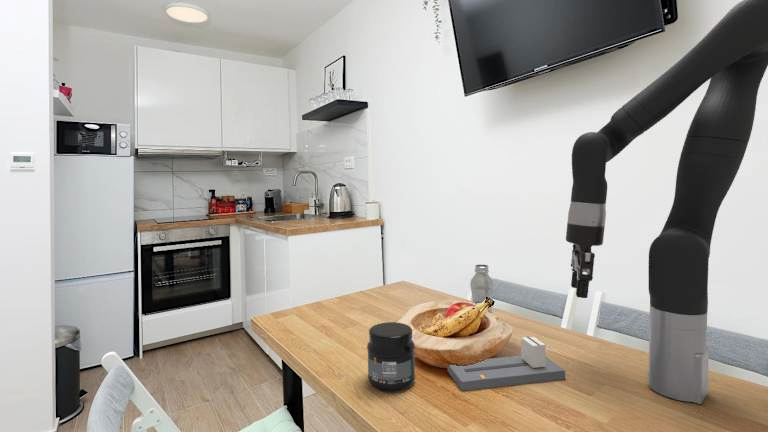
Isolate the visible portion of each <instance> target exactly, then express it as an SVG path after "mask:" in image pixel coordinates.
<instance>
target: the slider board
mask: <svg viewBox="0 0 768 432" xmlns="http://www.w3.org/2000/svg"><path fill="white" fill-rule="evenodd" d="M485 359H486V360H484V361H481V362H478V363H476V364H473V365H468V366H456V365H449V366H448V365H447V373H448V374H449V375H450V377H451V378H452V379H453V381H454V382H455V384H456V385H457V386H458V388H459V389H460V391H461V392H467V391H475V390H483V389H493V388H499V387H500V388H501V387H509V386H519V385H526V384H535V383H544V382H551V381H552V382H555V381H560V380H561V381H562V380H566V370H565V369H564V368H563V367H561V365H559V364H557V363H556V362H554V361H553V360H551V359H550V358H549V357H548V356H546V355H545V367H537V368H533V367H531V366H530V365H529V364H528V363H527V362H525V361H524V360H523V359H522V358H521V355H514V356H502V357H494V358H492V357H491V358H485Z"/></svg>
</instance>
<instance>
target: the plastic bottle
mask: <svg viewBox="0 0 768 432" xmlns="http://www.w3.org/2000/svg"><path fill="white" fill-rule="evenodd" d="M474 272H475V274H474V275H473V276H472V277H471V279H470V283H469V286H470V291H471V299H472V304H473V303H475V304H477V303H482V302H483V301H484V300H485V298H486V297H488V298H490V299H492V298H493V289H494V282H493V281H494V280H493V279H492V278H491V277H490V275H489V265H487V264H475V267H474ZM492 300H493V299H492ZM492 308H493V307H490V309H489V310H488V312H489V313H491V314H492V315H493V309H492Z"/></svg>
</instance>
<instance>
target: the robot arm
mask: <svg viewBox="0 0 768 432" xmlns="http://www.w3.org/2000/svg"><path fill="white" fill-rule="evenodd" d="M767 68H768V0H741V1H740V2H738V3H737V4H735V5H734V6H733V7H731V9H730V10H729V11H728V12H727V13H726V14H725V15H724V16H723V17H722V18H721V19H720V20H719V21H718V22H717V23H716V24H715V26H713V27H712V29H711V30H710V31H709V32H708V33H707V34H706V35H704V37H702V39H701V40H699V42H697V44H696V45H695V46H694V47H692V48H691V49H690V50H689V51H688V52H687V53H685V55H684V56H683V57H682V58H681V59H679V60H678V61H677V62H675V63H674V65H672V66H671V67H670V68H669V69H668V70H666V71H664V72H663V74H661V75H660V76H659V77H658V78H656V79H655V80H653V82H651V83H650V84H649V85H647V86H646V87H645V88H643V89H642V90H641V91H640V92H638V93H637V94H635V96H633V97H631V99H630V100H628V101H627V102H626V103H625V104H623V105H622V106H621V107H619V108H618V110H616V111H614V113H613V114H612V115H611V116H610V120H609V121H608V122H607V123H606V124H605V125H603V127H602V128H600V129H599V130H598V131H597V132H596V131H590V132H585V133H583V134H581V135H580V136H579V137H577V139H576V140H575V142H574V143H573V146H572V149H571V150H572V151H571V171H572V172H571V173H572V187H571V193H570V194H571V195H570V204H569V209H568V215H567V224H566V233H565V240H566V242H568V243H569V244H572V250H571V259H570V262H571V263H570V268H571V269H570V270H571V273H572V274H571V284H570V286H571V288H572V289H576V291H575V296H576V297H577V298H581V299H587V298H588V295H589V286H590V282H591V281H593V280H594V277H593V275H594V265H595V263H594V262H595V256H596V254H595V252H592V247H601V246H602V245H603V244H604V235H605V234H604V233H605V227H606V219H607V218H606V216H607V211H606V206H607V205H606V204H607V197H608V181H607V179H606V171H607V170H606V168H607V163H609V161H611V160H612V159H614V158H615V157H617V156H618V155H619V154H620V153H621V152H623V150H624V149H625V148H627V147H628V146H629V145H630V144H631V143H632V142H633V141H634V140H635V139H636V138H638V137H639V136H642V134H644V133H645V132H647V131H648V130H649V129H651V128H652V127H654V126H655V125H657V124H658V123H659V122H661V121H662V120H663V119H665V118H666V117H667V116H668V115H669V114H670V113H672V112H673V111H674V110H676V109H677V108H678V107H679V106H680V105H681V104H682V103H683V102H685V101H686V100H687V99H688V98H689V97H690V96H691V95H692V94H693V93H694V92H696V91H697V90H698V89H699V88H700V87H701V86H703V85H704V84H705V83H706V82H707V81H709V84H708V87H707V89H706V91H705V94H704V96H703V98H702V99H701V102H700V104H699V106H698V108H697V110H696V112H695V114H694V116H693V118H692V120H691V123H690V124H689V128H688V131H687V132H686V135H685V138H684V142H683V145H682V149H681V153H680V157H679V160H678V163H677V164H678V166H677V170H676V171H677V172H676V177H675V178H676V179H675V190H674V197H673V203H672V205H671V207H670V211H669V213H668V216H667V218H666V221H665V223H664V226H663V228H662V230H661V232H660V234H659V235H658V236H657V237H656V238H655V239H654V240H653V241H652V243H651V244H650V247H649V250H648V294H649V324H648V325H649V329H648V330H649V333H648V334H649V336H648V337H649V338H648V373H647V376H648V377H647V378H648V379H647V380H648V381H647V382H648V383H647V384H648V387H650V388H651V390H653V392H656V393H658V394H659V395H660V396H661V395H662V396H664V397H666V398H669V399H673V400H677V401H682V402H687V403H689V402H690V403H695V404H699V405H701V404H702V403H703V402H704V400H705V398H706V397H707V395H708V392H709V391H708V390H709V361H710V357H709V356H710V348H709V347H708V346H707V341H708V340H707V337H708V336H707V335H708V334H707V333H708V332H707V330H708V307H709V292H708V291H709V290H708V288H709V287H708V285H709V259H710V254H711V243H712V238H713V232H714V229H715V223H716V220H717V219H716V218H717V215H718V213H719V210H720V207H721V205H722V203H723V201H724V200H725V198H726V196H727V194H728V192H729V190H730V189H731V186H732V185H733V182H734V181H735V178H736V177H737V174H738V172H739V170H740V167H741V165H742V162H743V160H744V157H745V153H746V151H747V148H748V145H749V142H750V139H751V134H752V132H753V127H754V121H755V117H756V110H757V109H756V108H757V99H758V94H759V90H760V89H759V88H760V86H761V82H762V79H763V78H764V75H765V73H766V71H767ZM585 273H586V274H585Z"/></svg>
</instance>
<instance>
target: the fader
mask: <svg viewBox="0 0 768 432" xmlns="http://www.w3.org/2000/svg"><path fill="white" fill-rule="evenodd" d="M520 340H521V341H520V342H521V343H520V345H521V346H520V348H521V349H520V351H521V353H520V356H521V358H522V359H523V360H524V361H525V362H527V363H528V364H529V365H530V366H531V367H533V368H537V367H545V356H546V344H545V343H544V342H542V341H541V340H539V339H537V338H536V337H535V336H525V337H524V336H523V337H520Z"/></svg>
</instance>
